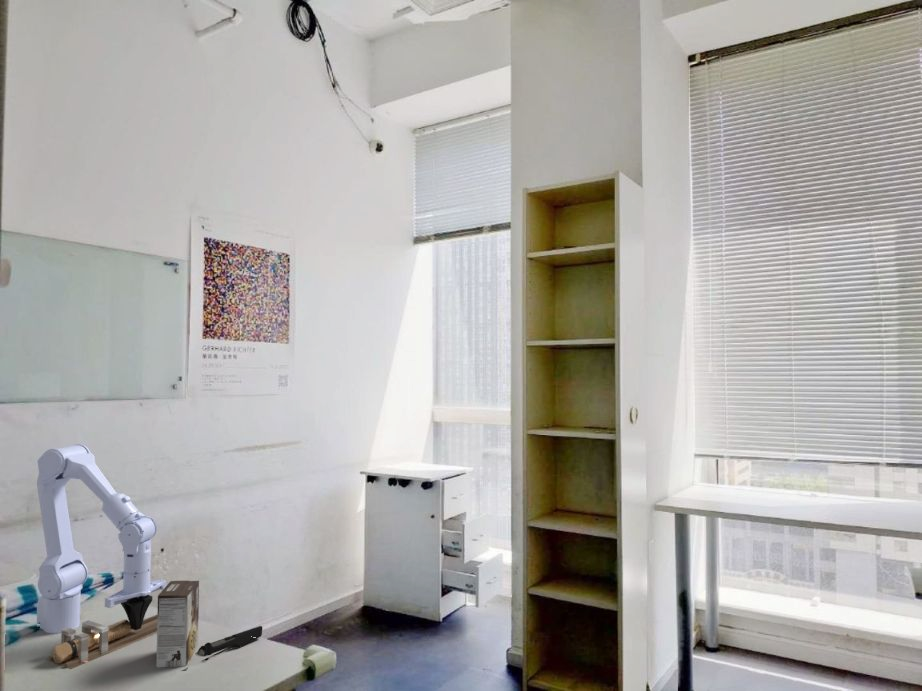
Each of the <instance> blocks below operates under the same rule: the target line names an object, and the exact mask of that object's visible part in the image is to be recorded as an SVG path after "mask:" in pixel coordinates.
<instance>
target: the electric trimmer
mask: <svg viewBox="0 0 922 691" xmlns="http://www.w3.org/2000/svg"><path fill="white" fill-rule="evenodd" d="M262 635H263V626H262V625H259V626H256V627H253V628H249V629H247V630H244V631H241V632H238V633H235V634H232V635H230V636H227V637H224V638H221V639H219V640H216V641H213V642H205V644H204V645H201V646H200V647H198V649H197V653H199V654H200V655H202V656H203V657H206V658H205V659H202V660H201V662H204V661H206V662H207V661H209V659H210V658H211V657H215V656H216V655H218V654H221V653H224V652H227V651H229V650H231V648H232V649H234V647H239V648H241V647H243V646H244V645H247V644H249V643H251V642H253V641H254V640H255V641H256V639H260V638H261V637H262ZM251 636H252V637H251ZM253 637H256V638H253ZM240 646H241V647H240ZM215 652H217V653H215ZM212 654H213V655H212Z"/></svg>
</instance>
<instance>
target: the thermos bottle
mask: <svg viewBox="0 0 922 691" xmlns="http://www.w3.org/2000/svg"><path fill="white" fill-rule="evenodd" d="M106 626H107V627H109V629H108V643H110V642H112V641H115V640H117V639H120V638H122V637H124V636H127V635H129V634H130V632H131V625H130V623H129V620H128V619H122V620H119V621H117V622H114V623H111V624H109V625H106ZM88 634H89V638H88V651H91V650H93V649H95V648H98V647H99V632H97V631H94V630H92V631H91V633H88ZM78 649H79V640H78V639H75V638H73V639H71V640H70V641H67V642H65V643H63V644H61V643H60V644H58V645H55V646H54V647H53V648H52V652H51V653H52V655H51V656H53V659H54V661H55V662H56V663H58V664H59V663H62V662H64V661H67V660H70V659H72V658H74V657H76V656H78ZM56 663H55V664H56ZM58 664H57V665H58Z"/></svg>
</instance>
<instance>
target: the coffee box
mask: <svg viewBox="0 0 922 691" xmlns="http://www.w3.org/2000/svg"><path fill="white" fill-rule="evenodd" d="M199 593H200V580H170V581H169V582H168V583H167V584H166V587H165V588H164V589H163V590H161V591H160V592H159V594H158V595H157V612H156V613H157V614H156V615H157V634H156V657H155V658H156V660H155V661H156V664H155V666H156V668H177V667H185V668H184V669H182V670H181V672H185V671H187V670H188V668H189V667H188V665H189V663H190V662H191V660H192V659H193V657H194V656H195V654H196V652H197V651H198V650H199V617H200V616H199V609H200V605H199V601H200V600H199V599H200V595H199Z"/></svg>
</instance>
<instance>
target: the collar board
mask: <svg viewBox="0 0 922 691" xmlns="http://www.w3.org/2000/svg"><path fill="white" fill-rule="evenodd" d="M107 626H108V625H104V624H100V623H98V622H94V621H92V620H86V621H83V622H81V631H80V632H77V633H76V629H71V628H66V629H63V630H62V632H61V633H60V634H61V637H60V638H61V639H60V640H61V641H60V644H63V643H65V642H67V641H70V640H72V636H73V639H78V640H79V649H78V656H76V657H74V658H72V659H70V660H67V661H64V662H62V663H59V664H58V663H56V662H55V661H54V659H53V656H52V655H49V656H48V658H46V659H45V660H46V661H48V662H51V663H53V664H56V665H59V666H61V667H64V668H66V669H68V670H72V669H75V668H77V667H79V666H82V665H84V664H87V663H89V662H92V661H94V660H96V659H99V658H102V657H105V656H106V655H108V654H111V653H114V652H116V651H118V650H121V649H123V648H125V647H127V646H130V645H132V644H134V643H137V642H140V641H142V640H144V639H147V638H149V637H151V636H154V635H157V614H155V615H153V616H149V617H147V618H144V619H143V623H142V626H141V629H138V630H133V629H131V632H130V634H129V635H127V636H124V637H122V638H120V639H117V640H115V641H112V642H110V643H108V629H109V627H107ZM92 631H97V632H99V647H98V648H95V649H93V650H91V651H88V638H89V634H88V633H91V632H92Z"/></svg>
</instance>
